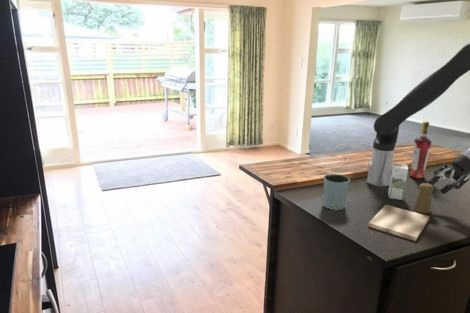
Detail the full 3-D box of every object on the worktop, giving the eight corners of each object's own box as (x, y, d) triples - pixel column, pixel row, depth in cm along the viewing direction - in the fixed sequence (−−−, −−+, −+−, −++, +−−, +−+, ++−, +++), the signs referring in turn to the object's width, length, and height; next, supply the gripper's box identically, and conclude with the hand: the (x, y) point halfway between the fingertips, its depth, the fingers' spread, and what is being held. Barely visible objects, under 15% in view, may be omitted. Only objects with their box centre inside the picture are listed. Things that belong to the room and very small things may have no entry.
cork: (410, 206, 148) (415, 181, 144) (425, 206, 148) (429, 181, 145) (419, 213, 142) (424, 187, 139) (434, 213, 143) (439, 187, 139)
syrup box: (401, 195, 159) (407, 164, 154) (403, 200, 153) (408, 168, 149) (387, 193, 160) (392, 162, 156) (388, 198, 155) (393, 166, 151)
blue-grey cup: (319, 208, 145) (322, 180, 142) (323, 198, 154) (325, 172, 151) (346, 212, 142) (349, 184, 138) (347, 202, 151) (350, 175, 147)
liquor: (406, 174, 185) (415, 120, 176) (421, 175, 184) (431, 120, 175) (411, 179, 178) (420, 123, 170) (427, 180, 177) (437, 123, 169)
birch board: (368, 226, 131) (368, 222, 131) (385, 208, 146) (385, 204, 146) (415, 241, 122) (416, 237, 121) (428, 219, 137) (429, 216, 136)
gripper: (453, 148, 145) (420, 175, 148) (476, 159, 132) (440, 189, 135) (463, 161, 147) (430, 187, 150) (487, 173, 134) (451, 202, 137)
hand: (435, 188), depth 143 cm, fingers open, 8 cm apart
